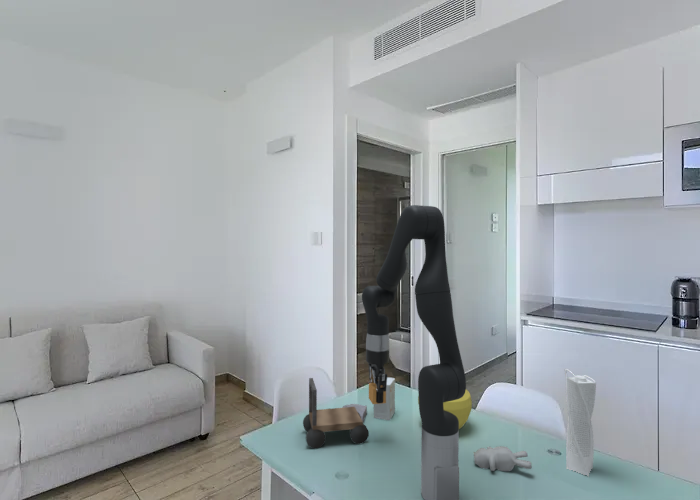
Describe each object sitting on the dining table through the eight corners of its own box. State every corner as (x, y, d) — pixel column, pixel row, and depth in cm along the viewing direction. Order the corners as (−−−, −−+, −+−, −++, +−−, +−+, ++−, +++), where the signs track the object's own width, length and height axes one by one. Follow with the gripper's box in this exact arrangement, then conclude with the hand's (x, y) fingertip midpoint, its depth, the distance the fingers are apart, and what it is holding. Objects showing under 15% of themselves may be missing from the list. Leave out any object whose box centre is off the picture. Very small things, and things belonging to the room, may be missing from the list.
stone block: (337, 430, 139) (364, 426, 137) (334, 416, 139) (362, 412, 137) (343, 416, 150) (368, 413, 149) (341, 404, 151) (366, 400, 149)
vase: (440, 410, 150) (441, 333, 150) (482, 428, 136) (483, 343, 136) (407, 423, 139) (407, 340, 139) (448, 445, 125) (449, 351, 124)
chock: (385, 403, 125) (386, 387, 125) (372, 404, 124) (372, 388, 124) (381, 397, 130) (381, 382, 130) (368, 398, 129) (368, 382, 129)
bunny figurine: (472, 442, 119) (525, 442, 115) (474, 458, 119) (527, 459, 115) (474, 458, 110) (531, 459, 106) (476, 476, 110) (533, 478, 106)
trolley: (360, 426, 138) (360, 374, 137) (368, 443, 126) (369, 386, 126) (302, 431, 133) (303, 378, 133) (306, 449, 122) (306, 391, 121)
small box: (379, 409, 152) (379, 375, 151) (395, 411, 149) (395, 377, 149) (373, 418, 144) (373, 382, 144) (389, 420, 142) (390, 385, 142)
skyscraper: (559, 469, 112) (560, 371, 111) (566, 458, 117) (567, 365, 117) (592, 480, 106) (593, 377, 106) (597, 468, 112) (598, 370, 112)
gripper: (395, 352, 120) (395, 407, 121) (382, 341, 134) (382, 390, 135) (372, 354, 119) (371, 409, 119) (361, 342, 133) (360, 391, 133)
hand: (377, 399), depth 127 cm, fingers closed on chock, 5 cm apart
